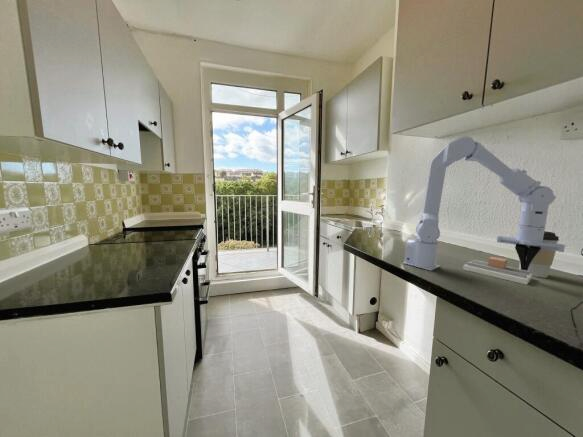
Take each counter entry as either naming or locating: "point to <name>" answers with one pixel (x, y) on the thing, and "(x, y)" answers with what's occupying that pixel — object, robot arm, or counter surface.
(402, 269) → the counter surface
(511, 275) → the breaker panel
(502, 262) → the switch
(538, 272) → the coffee cup
